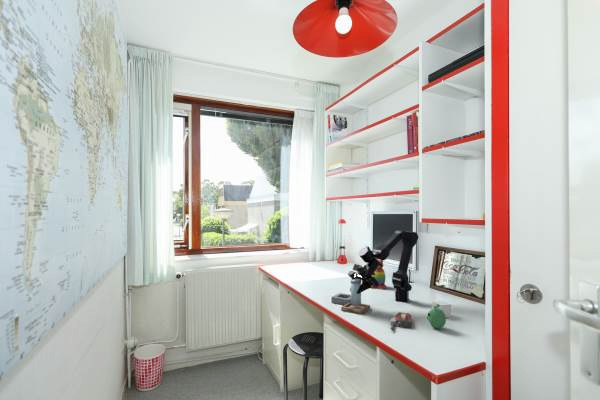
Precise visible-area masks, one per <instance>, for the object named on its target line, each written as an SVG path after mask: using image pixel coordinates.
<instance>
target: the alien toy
mask: <svg viewBox="0 0 600 400" xmlns="http://www.w3.org/2000/svg"><path fill="white" fill-rule="evenodd" d="M437 306H438V308H437ZM437 306H434V307H433V309H432V308H431V309H430V310H429V311H428V313H427V316H426V319H427V320H428V322H429V324H430V326H431V327H433V329H438V330H440V329H442V328H444V326H445V325H446V322H447V317H446V316H445V314H444V312H443V311H442V310H441V309H439V306H440V305H439V304H437Z"/></svg>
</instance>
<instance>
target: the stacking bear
mask: <svg viewBox="0 0 600 400" xmlns="http://www.w3.org/2000/svg"><path fill="white" fill-rule="evenodd" d="M378 261H379V262H382V267H378V268H377V269H376V271H375V272H374V273H375V275H372V277H374V278H375V279H376V280H377V281H378V282H379V286H378V287H377V288H375V287H373V285H372V288H371V289H381V290H387V285H386V284H385V283H386V279H387V276H386V272H385V269H383V267H384V263H383V262H384V260H379V259H378Z"/></svg>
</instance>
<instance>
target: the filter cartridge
mask: <svg viewBox="0 0 600 400" xmlns="http://www.w3.org/2000/svg"><path fill="white" fill-rule="evenodd" d="M361 284H362V280H359V279H350V288H351V291H350V295H351V305H352V306H361V304H362V292H361V293H359V294H357V291H358V289H359V287H360V286H361Z"/></svg>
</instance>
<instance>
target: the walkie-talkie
mask: <svg viewBox="0 0 600 400" xmlns="http://www.w3.org/2000/svg"><path fill="white" fill-rule="evenodd" d="M412 321H413V320H412V314H411V313H408V312H400V311H399V312H396V315H395V317H391V319H390V330H391V331H394V326H395V327H401V328H408V329H411V328H412V324H413V323H412Z"/></svg>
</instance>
